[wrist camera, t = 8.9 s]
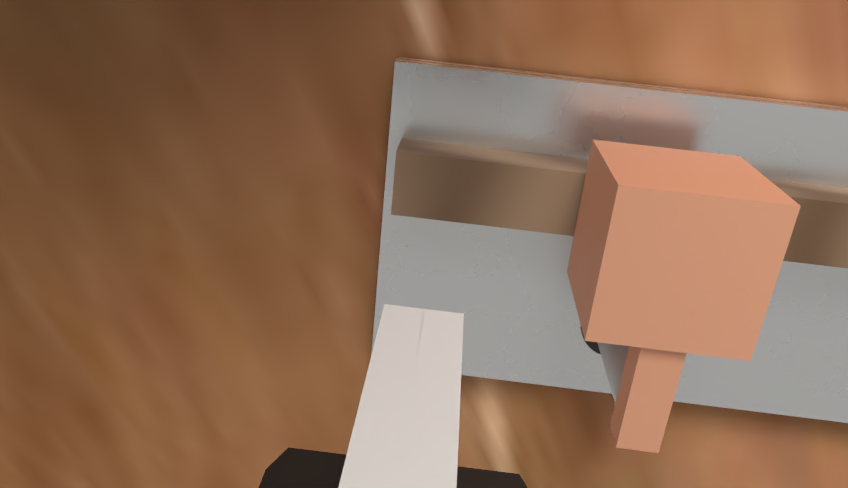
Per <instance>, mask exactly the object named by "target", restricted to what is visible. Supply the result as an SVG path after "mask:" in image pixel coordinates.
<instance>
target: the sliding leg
mask: <svg viewBox="0 0 848 488" xmlns="http://www.w3.org/2000/svg"><path fill="white" fill-rule="evenodd" d="M800 207H801V206H800V205H799V204H798V203H797V202H795V201H794V200H793V199H792V198H791V197H789V196H788V195H787V194H786V193H784V192H783V191H782V190H781V189H780V188H778V187H777V186H776V185H775V184H773V183H772V182H771V181H770V180H769V179H767V178H766V177H765V176H764V175H762V174H761V173H760V172H759V171H758V170H756V169H755V168H754V167H753V166H751V165H750V164H749V163H748V162H747V161H745V160H744V159H743V158H742V157H741V156H734V155H725V154H716V153H707V152H698V151H690V150H681V149H672V148H663V147H655V146H646V145H637V144H628V143H619V142H611V141H602V140H592V145H591V150H590V155H589V161H588V166H587V171H586V176H585V181H584V186H583V191H582V197H581V202H580V207H579V212H578V217H577V222H576V227H575V232H574V238H573V243H572V248H571V253H570V258H569V263H568V268H567V274H568V278H569V281H570V285H571V289H572V293H573V297H574V301H575V304H576V308H577V312H578V316H579V320H580V324H581V328H582V331H583V335H584V339H585V341H591V342H597V343H598V347H599V350H600V353H601V357H602V360H603V364H604V367H605V371H606V374H607V378H608V381H609V384H610V388H611V391H612V395H613V398H614V402H615V406H614V410H613V414H612V419H611V423H610V427H611V431H612V435H613V439H614V442H615V446H616V448H623V449H630V450H638V451H646V452H654V453H659V450H660V446H661V443H662V439H663V436H664V432H665V429H666V425H667V421H668V418H669V414H670V411H671V407H672V404H673V400H674V397H675V393H676V390H677V386H678V382H679V379H680V375H681V372H682V368H683V365H684V361H685V358H686V354H687V353H689V354H697V355H705V356H713V357H722V358H730V359H738V360H746V361H751V358H752V355H753V352H754V349H755V346H756V343H757V340H758V337H759V333H760V330H761V327H762V324H763V321H764V318H765V315H766V312H767V309H768V306H769V303H770V300H771V296H772V293H773V290H774V287H775V284H776V281H777V278H778V275H779V272H780V269H781V266H782V263H783V259H784V256H785V253H786V250H787V247H788V244H789V241H790V238H791V235H792V232H793V229H794V226H795V222H796V219H797V216H798V213H799V210H800Z"/></svg>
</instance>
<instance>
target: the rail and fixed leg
mask: <svg viewBox="0 0 848 488" xmlns="http://www.w3.org/2000/svg"><path fill="white" fill-rule="evenodd" d="M588 161H589V159H585V158H576V157H567V156H559V155H550V154H541V153H533V152H524V151H515V150H506V149H498V148H489V147H480V146H472V145H463V144H454V143H445V142H437V141H428V140H419V139H410V138H402V139H401V141H400V143H399V146H398V148H397V151H396V159H395V171H394V183H393V195H392V207H391V215H399V216H407V217H416V218H424V219H433V220H441V221H450V222H458V223H467V224H475V225H484V226H492V227H500V228H509V229H517V230H526V231H534V232H543V233H551V234H560V235H568V236H574V232H575V227H576V222H577V217H578V212H579V207H580V202H581V197H582V191H583V186H584V181H585V176H586V171H587V166H588ZM770 181H771V182H772V183H773V184H775V185H776V186H777V187H778V188H780V189H781V190H782V191H783V192H784V193H786V194H787V195H788V196H789V197H791V198H792V199H793V200H794V201H795V202H797V203H798V204H799V205H800V206H801V207H800V210H799V213H798V216H797V219H796V222H795V226H794V229H793V232H792V235H791V238H790V241H789V244H788V247H787V250H786V253H785V256H784V259H783V261H789V262H797V263H806V264H814V265H823V266H831V267H839V268H848V189H847V188H838V187H829V186H820V185H812V184H803V183H794V182H786V181H777V180H770Z"/></svg>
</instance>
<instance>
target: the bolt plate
mask: <svg viewBox="0 0 848 488" xmlns="http://www.w3.org/2000/svg"><path fill="white" fill-rule="evenodd" d="M402 138H410V139H419V140H428V141H437V142H445V143H454V144H463V145H472V146H480V147H489V148H498V149H506V150H515V151H524V152H533V153H541V154H550V155H559V156H567V157H576V158H585V159H589V155H590V150H591V145H592V140H602V141H611V142H619V143H628V144H637V145H646V146H655V147H663V148H672V149H681V150H690V151H698V152H707V153H716V154H725V155H734V156H741V157H742V158H743V159H744V160H745V161H747V162H748V163H749V164H750V165H751V166H753V167H754V168H755V169H756V170H758V171H759V172H760V173H761V174H762V175H764V176H765V177H766V178H767V179H769V180H777V181H786V182H794V183H803V184H812V185H820V186H829V187H838V188H847V189H848V107H847V106H838V105H829V104H820V103H811V102H802V101H793V100H784V99H775V98H766V97H757V96H748V95H739V94H730V93H721V92H712V91H703V90H694V89H685V88H676V87H667V86H658V85H649V84H640V83H631V82H622V81H613V80H604V79H595V78H586V77H577V76H568V75H559V74H550V73H541V72H532V71H523V70H514V69H505V68H496V67H487V66H478V65H469V64H460V63H451V62H442V61H433V60H424V59H415V58H406V57H398V58H397V59H396V61H395V66H394V79H393V91H392V104H391V116H390V129H389V141H388V154H387V166H386V179H385V191H384V204H383V216H382V229H381V242H380V254H379V267H378V279H377V292H376V304H375V317H374V329H373V342H372V351H373V347H374V343H375V339H376V335H377V331H378V327H379V323H380V319H381V315H382V311H383V307H384V304H388V305H397V306H405V307H413V308H422V309H430V310H439V311H447V312H455V313H464V320H463V344H462V369H461V375H466V376H474V377H482V378H490V379H498V380H506V381H514V382H522V383H530V384H538V385H546V386H554V387H562V388H570V389H578V390H586V391H594V392H602V393H610V394H612V391H611V388H610V384H609V381H608V378H607V374H606V371H605V367H604V364H603V360H602V357H601V353H600V350H599V347H598V343H597V342H591V341H585V339H584V335H583V331H582V328H581V324H580V320H579V316H578V312H577V308H576V304H575V301H574V297H573V293H572V289H571V285H570V281H569V278H568V274H567V268H568V263H569V258H570V253H571V248H572V243H573V238H574V236H568V235H560V234H551V233H543V232H534V231H526V230H517V229H509V228H500V227H492V226H484V225H475V224H467V223H458V222H450V221H441V220H433V219H424V218H416V217H407V216H399V215H391V207H392V195H393V183H394V171H395V159H396V151H397V148H398V146H399V143H400V141H401V139H402ZM371 355H372V354H371ZM673 401H674V402H682V403H690V404H699V405H707V406H715V407H723V408H731V409H739V410H747V411H755V412H763V413H771V414H779V415H787V416H795V417H803V418H811V419H819V420H827V421H835V422H843V423H848V268H839V267H831V266H823V265H814V264H806V263H797V262H789V261H783V263H782V266H781V269H780V272H779V275H778V278H777V281H776V284H775V287H774V290H773V293H772V296H771V300H770V303H769V306H768V309H767V312H766V315H765V318H764V321H763V324H762V327H761V330H760V333H759V337H758V340H757V343H756V346H755V349H754V352H753V355H752V358H751V361H746V360H738V359H730V358H722V357H713V356H705V355H697V354H689V353H687V354H686V358H685V361H684V365H683V368H682V372H681V375H680V379H679V382H678V386H677V390H676V393H675V397H674V400H673Z"/></svg>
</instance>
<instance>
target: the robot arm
mask: <svg viewBox="0 0 848 488" xmlns="http://www.w3.org/2000/svg"><path fill="white" fill-rule="evenodd" d="M463 320H464V313H455V312H447V311H439V310H430V309H422V308H413V307H405V306H397V305H388V304H384V307H383V311H382V315H381V319H380V323H379V327H378V331H377V335H376V339H375V343H374V347H373V351H372V355H371V359H370V363H369V367H368V371H367V375H366V379H365V383H364V387H363V391H362V395H361V399H360V403H359V407H358V411H357V415H356V419H355V423H354V427H353V431H352V435H351V439H350V443H349V447H348V451H347V455H344V454H336V453H328V452H320V451H312V450H304V449H295V448H288V449H287V450H286V451H285V452H284V453H282V454H281V455H280V456H279V457H278V458H277V459H276V460H275V461H274V462H273V463H272V464H271V465H270V466H269V467H268V468H267V469H266V470H265V473H264V476H263V478H262V481H261V483H260V486H259V488H527V486H526V485H525V483H524V481H523V480H522V478H521V476H520V475H519V474H513V473H505V472H497V471H489V470H481V469H473V468H465V467H457V465H458V441H459V417H460V393H461V369H462V344H463Z"/></svg>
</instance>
